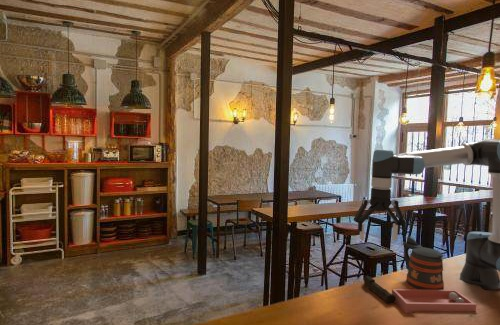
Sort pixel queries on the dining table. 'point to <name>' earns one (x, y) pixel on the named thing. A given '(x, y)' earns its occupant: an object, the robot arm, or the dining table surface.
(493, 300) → the dining table surface
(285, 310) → the dining table surface
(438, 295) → the pink tray
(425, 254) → the beer stein
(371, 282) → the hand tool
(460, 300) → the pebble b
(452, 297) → the light grey ball
